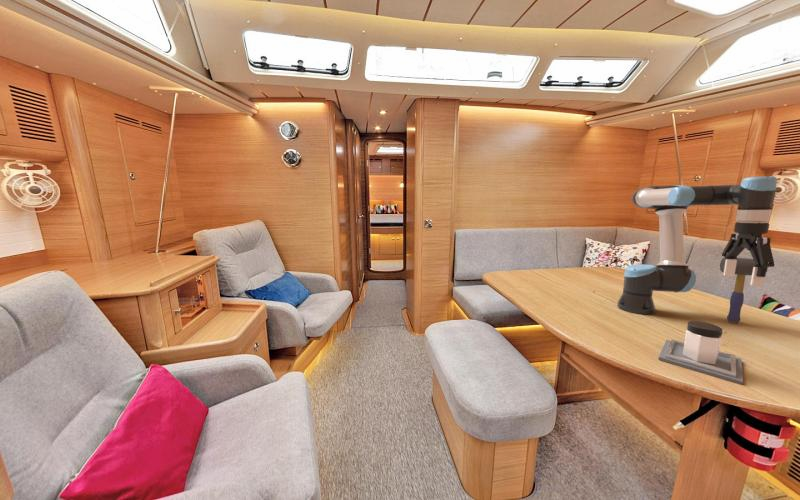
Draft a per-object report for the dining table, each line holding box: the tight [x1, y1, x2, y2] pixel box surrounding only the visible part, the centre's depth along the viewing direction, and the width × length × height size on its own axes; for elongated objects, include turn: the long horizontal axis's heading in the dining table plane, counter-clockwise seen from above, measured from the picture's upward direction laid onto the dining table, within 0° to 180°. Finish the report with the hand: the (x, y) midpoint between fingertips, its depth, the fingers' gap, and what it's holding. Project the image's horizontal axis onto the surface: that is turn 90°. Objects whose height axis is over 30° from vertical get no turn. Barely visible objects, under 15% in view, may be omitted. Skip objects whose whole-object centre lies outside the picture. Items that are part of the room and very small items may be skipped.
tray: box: [665, 339, 736, 377], centre depth 97 cm, size 16×16×1 cm
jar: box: [683, 320, 723, 364], centre depth 97 cm, size 9×8×12 cm
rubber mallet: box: [719, 257, 769, 324], centre depth 124 cm, size 12×8×30 cm, turn 56°
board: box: [658, 339, 744, 385], centre depth 98 cm, size 19×19×1 cm
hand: (741, 280), depth 100 cm, fingers open, 13 cm apart
